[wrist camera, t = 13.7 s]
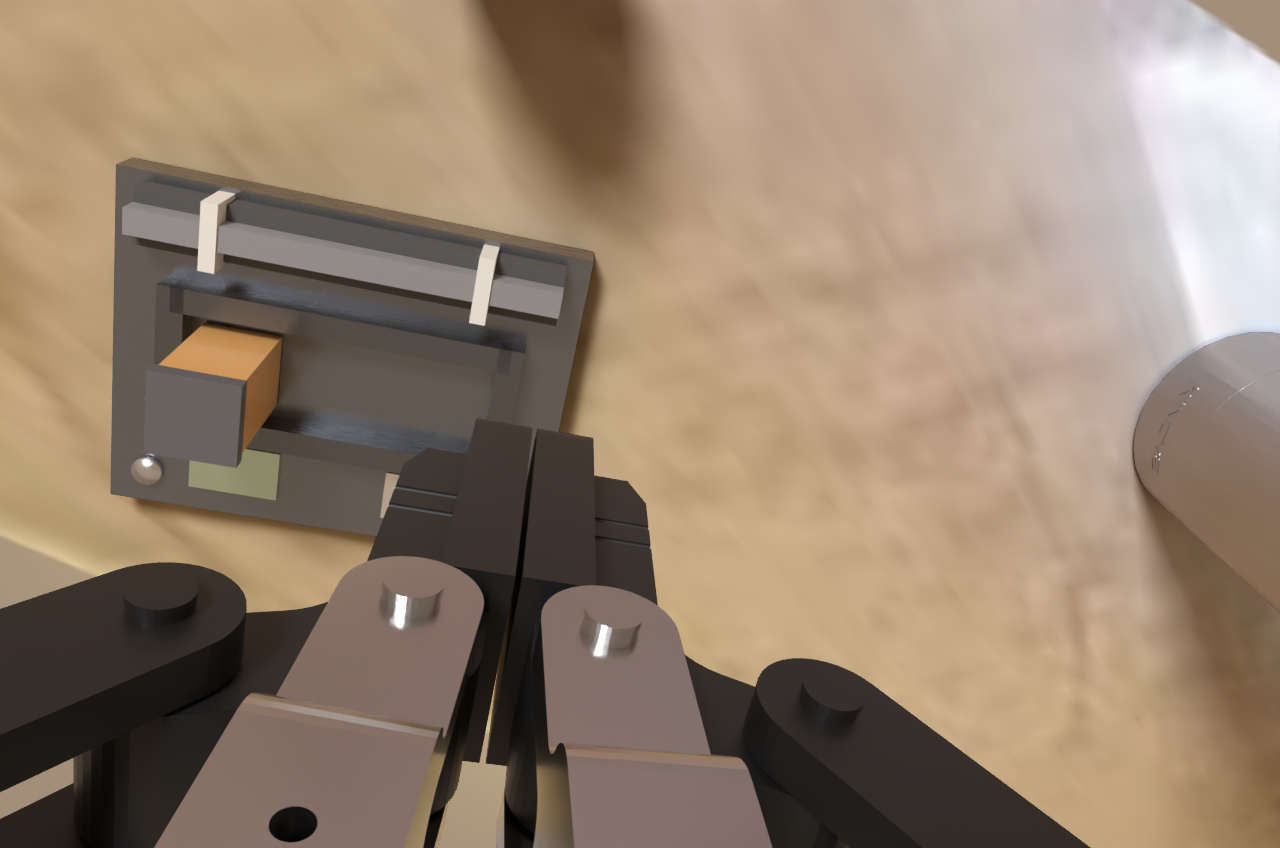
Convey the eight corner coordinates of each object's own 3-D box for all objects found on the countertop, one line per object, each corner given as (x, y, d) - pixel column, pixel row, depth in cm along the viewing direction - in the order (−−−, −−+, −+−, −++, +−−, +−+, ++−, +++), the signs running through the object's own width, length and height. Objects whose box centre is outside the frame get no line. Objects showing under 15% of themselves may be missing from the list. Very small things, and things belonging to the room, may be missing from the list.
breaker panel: (593, 251, 41) (594, 269, 39) (532, 544, 46) (530, 576, 44) (132, 157, 39) (101, 169, 36) (125, 478, 44) (98, 507, 42)
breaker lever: (285, 334, 40) (242, 386, 35) (279, 407, 41) (236, 467, 36) (202, 319, 40) (146, 370, 35) (198, 393, 41) (143, 452, 36)
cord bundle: (568, 261, 40) (567, 274, 38) (555, 323, 41) (554, 339, 39) (143, 175, 37) (121, 185, 36) (142, 242, 38) (120, 256, 37)
